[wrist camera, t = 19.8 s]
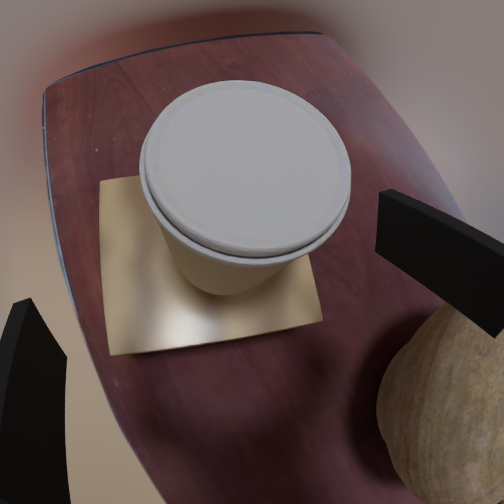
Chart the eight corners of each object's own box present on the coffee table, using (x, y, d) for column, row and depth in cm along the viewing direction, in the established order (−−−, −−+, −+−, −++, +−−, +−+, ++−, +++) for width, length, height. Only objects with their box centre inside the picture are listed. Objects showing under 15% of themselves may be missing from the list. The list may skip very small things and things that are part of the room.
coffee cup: (258, 179, 26) (302, 70, 14) (302, 283, 23) (392, 222, 12) (148, 207, 23) (123, 95, 12) (183, 324, 21) (170, 294, 10)
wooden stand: (131, 354, 27) (109, 355, 19) (118, 219, 31) (99, 180, 23) (292, 328, 30) (323, 320, 23) (264, 201, 34) (283, 161, 27)
